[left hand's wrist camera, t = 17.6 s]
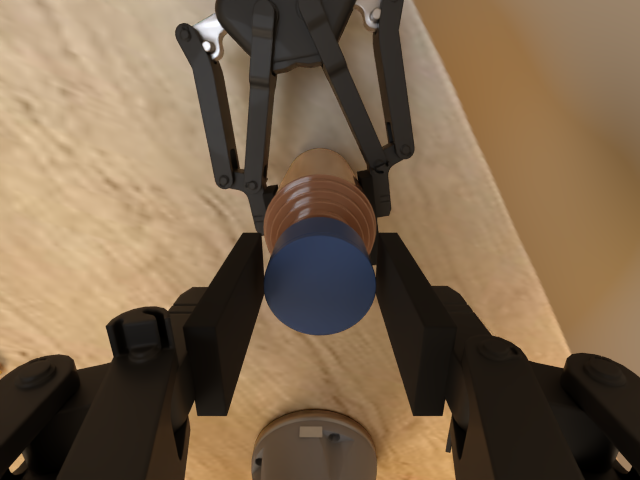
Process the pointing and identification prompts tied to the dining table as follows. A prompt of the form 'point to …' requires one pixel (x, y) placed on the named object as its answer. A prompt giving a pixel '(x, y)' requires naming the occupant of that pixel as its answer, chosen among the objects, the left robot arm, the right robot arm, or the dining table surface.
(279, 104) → the dining table surface
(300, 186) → the bottle
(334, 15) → the right robot arm
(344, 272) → the cap
